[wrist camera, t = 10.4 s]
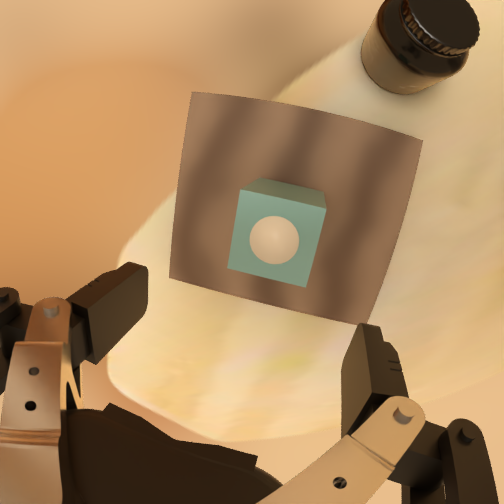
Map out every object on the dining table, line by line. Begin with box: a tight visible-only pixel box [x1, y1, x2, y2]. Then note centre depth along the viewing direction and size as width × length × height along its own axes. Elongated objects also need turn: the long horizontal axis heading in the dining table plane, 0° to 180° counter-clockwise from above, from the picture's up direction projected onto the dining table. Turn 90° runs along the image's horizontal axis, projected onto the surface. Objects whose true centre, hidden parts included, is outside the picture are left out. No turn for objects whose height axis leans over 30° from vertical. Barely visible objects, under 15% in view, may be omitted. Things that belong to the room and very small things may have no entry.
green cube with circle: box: [227, 178, 326, 288], centre depth 22 cm, size 5×5×7 cm
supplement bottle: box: [361, 0, 480, 94], centre depth 16 cm, size 7×7×12 cm
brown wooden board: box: [169, 92, 423, 325], centre depth 24 cm, size 20×18×9 cm
